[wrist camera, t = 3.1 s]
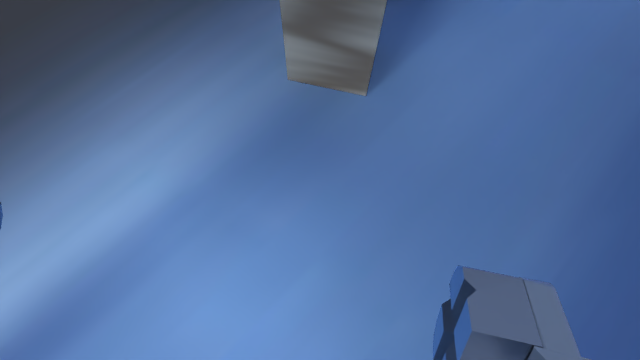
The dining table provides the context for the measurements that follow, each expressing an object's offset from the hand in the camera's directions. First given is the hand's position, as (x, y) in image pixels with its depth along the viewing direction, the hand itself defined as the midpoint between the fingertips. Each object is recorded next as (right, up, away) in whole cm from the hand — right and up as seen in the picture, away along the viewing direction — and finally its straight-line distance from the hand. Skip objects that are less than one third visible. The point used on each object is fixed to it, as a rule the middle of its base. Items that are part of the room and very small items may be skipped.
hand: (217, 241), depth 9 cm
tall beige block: (+2, +7, +18) cm, 19 cm away
